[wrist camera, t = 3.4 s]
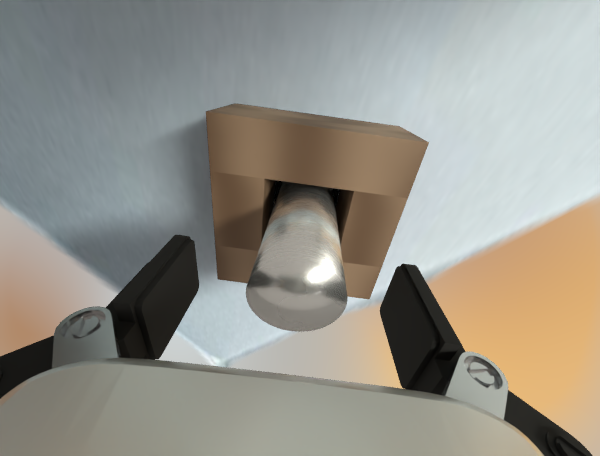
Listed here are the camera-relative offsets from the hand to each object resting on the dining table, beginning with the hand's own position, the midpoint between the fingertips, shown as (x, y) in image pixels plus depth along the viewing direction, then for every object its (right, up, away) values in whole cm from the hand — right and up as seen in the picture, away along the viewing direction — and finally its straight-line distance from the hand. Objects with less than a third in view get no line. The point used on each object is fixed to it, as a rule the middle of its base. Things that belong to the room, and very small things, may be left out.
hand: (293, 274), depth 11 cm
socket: (+1, +5, +8) cm, 9 cm away
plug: (+1, +5, +8) cm, 9 cm away
